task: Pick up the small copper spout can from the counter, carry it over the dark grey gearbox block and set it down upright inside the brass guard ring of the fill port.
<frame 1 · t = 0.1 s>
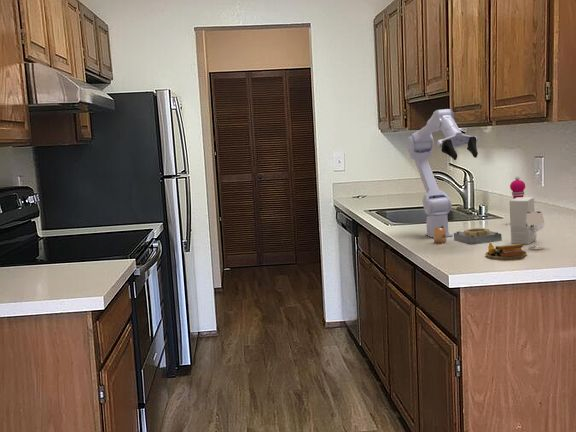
hand: (466, 156, 211), 32 cm above the worktop, tool tilted 50°, fingers open, 7 cm apart
skincare box: (524, 242, 212), on the worktop
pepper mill: (519, 223, 254), on the worktop
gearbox: (477, 239, 225), on the worktop
toy sandwich meal: (507, 257, 191), on the worktop
copper spout can: (440, 242, 227), on the worktop
wineglass: (536, 248, 200), on the worktop
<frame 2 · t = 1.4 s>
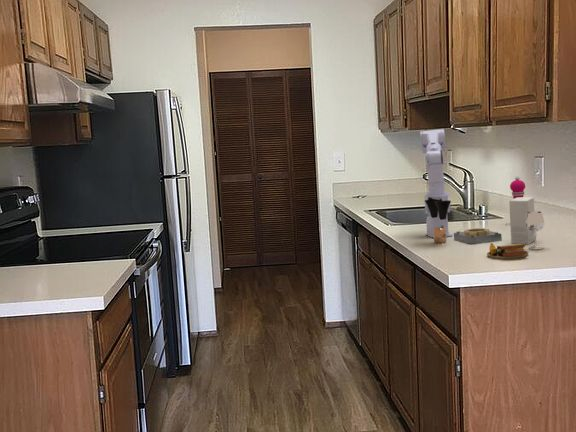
hand: (438, 218, 226), 9 cm above the worktop, tool pointing down, fingers open, 7 cm apart
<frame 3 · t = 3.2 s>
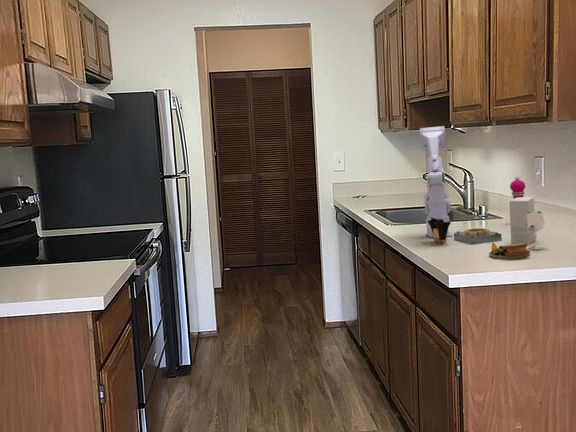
hand: (440, 239, 226), 1 cm above the worktop, tool pointing down, fingers closed on copper spout can, 4 cm apart
copper spout can: (440, 242, 227), on the worktop, touching gripper
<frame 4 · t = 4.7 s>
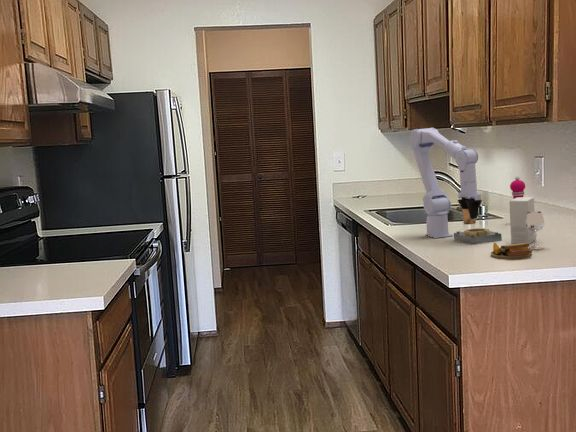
hand: (470, 218, 224), 8 cm above the worktop, tool pointing down, fingers closed on copper spout can, 4 cm apart
copper spout can: (469, 223, 224), point 7 cm above the worktop, touching gripper
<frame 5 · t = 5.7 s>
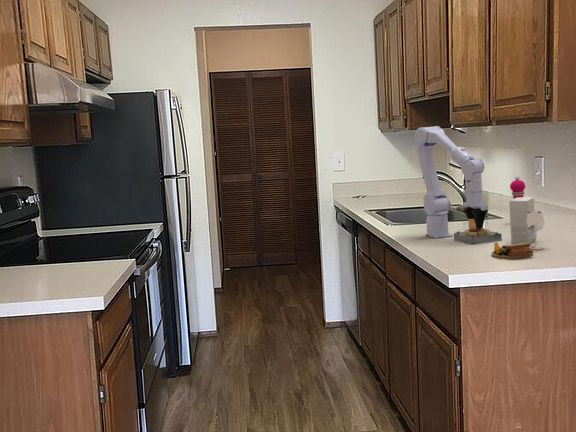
hand: (476, 227, 224), 5 cm above the worktop, tool pointing down, fingers closed on copper spout can, 4 cm apart
copper spout can: (475, 233, 224), point 3 cm above the worktop, touching gripper
when the fingers open (5 cm above the worktop, at t = 6.4 s): copper spout can stays where it is, resting on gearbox.
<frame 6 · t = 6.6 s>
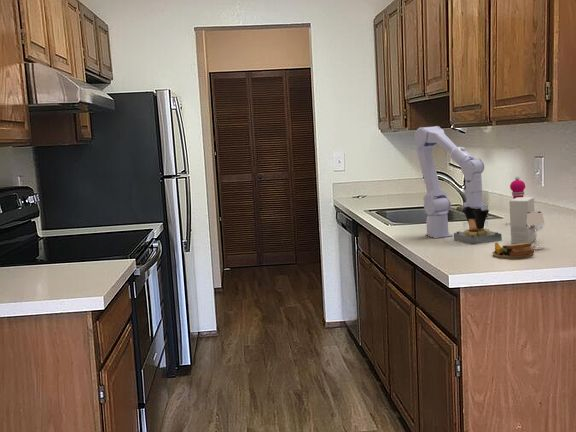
hand: (476, 227, 224), 5 cm above the worktop, tool pointing down, fingers open, 6 cm apart
copper spout can: (475, 233, 224), point 3 cm above the worktop, touching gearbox
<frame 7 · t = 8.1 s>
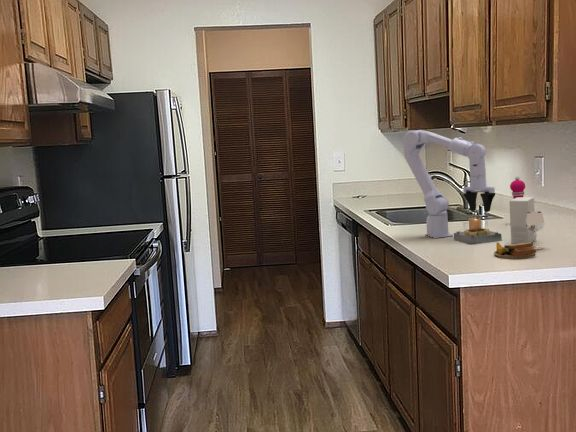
hand: (480, 211, 230), 10 cm above the worktop, tool pointing down, fingers open, 7 cm apart
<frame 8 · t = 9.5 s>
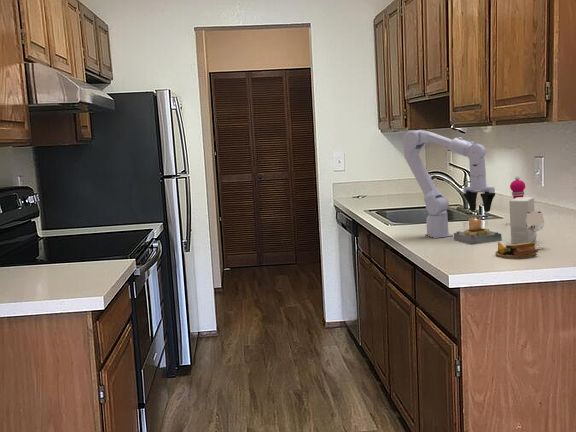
hand: (480, 211, 230), 10 cm above the worktop, tool pointing down, fingers open, 7 cm apart
at the end: copper spout can 0.5 cm off-centre on the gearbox, point 2.5 cm above the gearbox's base; copper spout can tilted 0°; the gripper is holding nothing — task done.
